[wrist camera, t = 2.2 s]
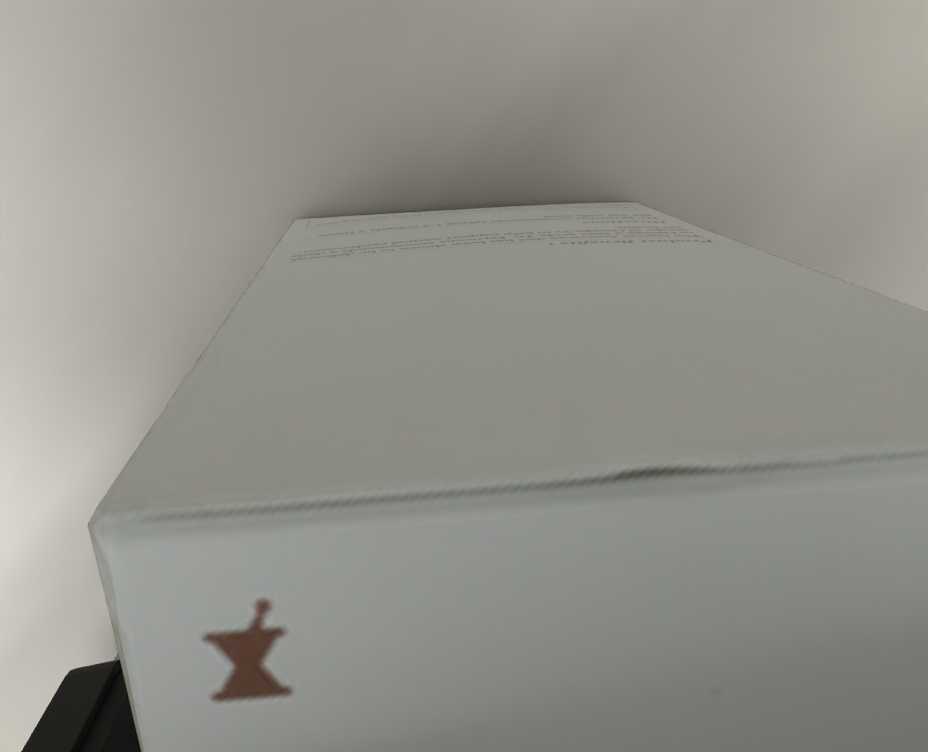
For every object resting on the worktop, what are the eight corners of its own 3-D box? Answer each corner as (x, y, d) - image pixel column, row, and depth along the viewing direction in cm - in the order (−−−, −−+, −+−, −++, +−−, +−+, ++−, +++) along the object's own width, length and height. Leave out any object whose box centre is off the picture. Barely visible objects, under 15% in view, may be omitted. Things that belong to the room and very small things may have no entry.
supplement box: (319, 542, 19) (209, 1309, 7) (287, 210, 16) (40, 492, 5) (639, 519, 19) (1054, 1188, 7) (652, 196, 17) (1286, 410, 5)
